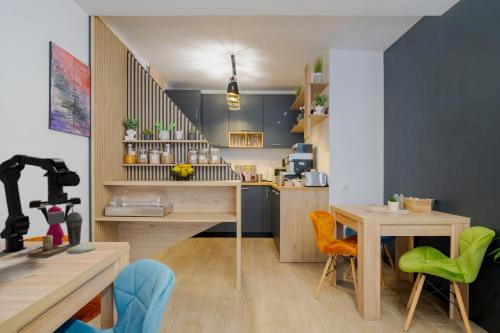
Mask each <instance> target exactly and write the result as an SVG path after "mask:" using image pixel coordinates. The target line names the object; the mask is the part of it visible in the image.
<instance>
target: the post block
mask: <svg viewBox="0 0 500 333" xmlns="http://www.w3.org/2000/svg"><path fill="white" fill-rule="evenodd" d="M63 252H68V247H67V246H53V235H47V236H46V235H43V236H42V248H38V249H36V250H32V251H29V252H27V257H34V258H50V257H53V256H55V255H58V254H62V253H63Z"/></svg>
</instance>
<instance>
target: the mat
mask: <svg viewBox="0 0 500 333" xmlns="http://www.w3.org/2000/svg"><path fill="white" fill-rule="evenodd" d="M96 248H97V247H96V245H91V244H90V245H89V244H87V245H86V244H85V245H79V246H74V247H70V248H69V249H67V253H69V254H83V253H82V252H84V253H89V252H91V251H94V250H95V249H96Z"/></svg>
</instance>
